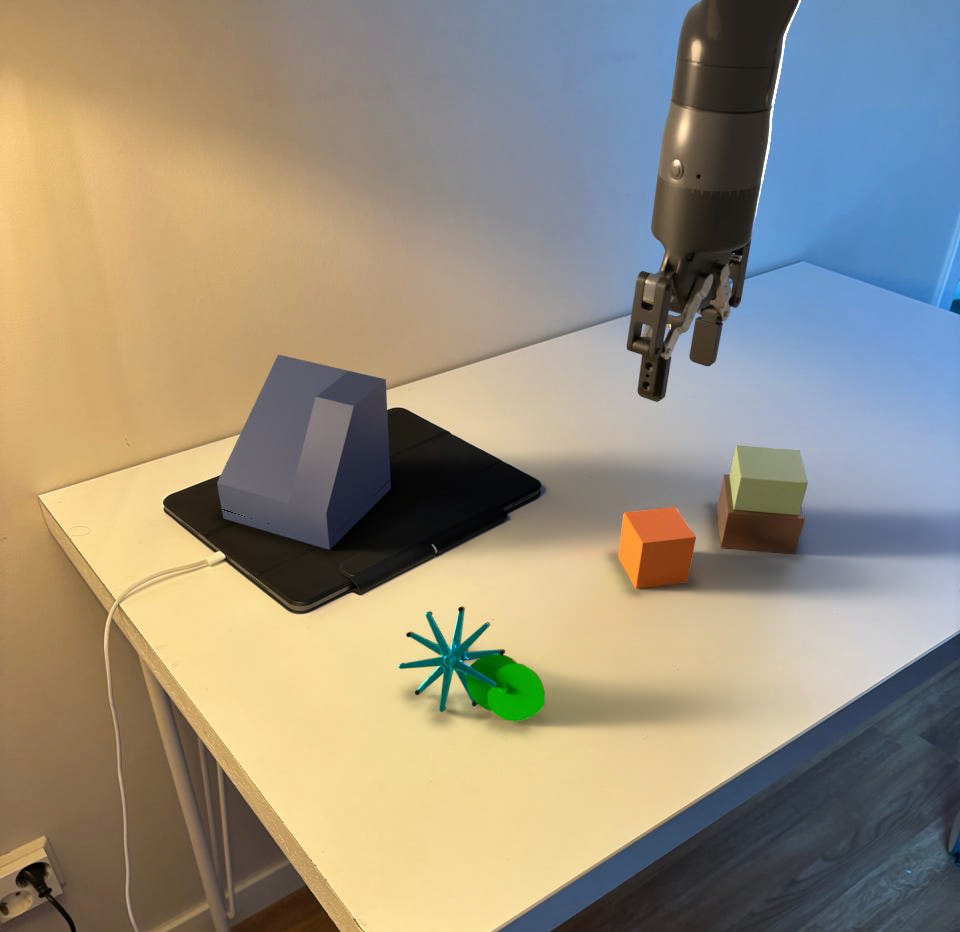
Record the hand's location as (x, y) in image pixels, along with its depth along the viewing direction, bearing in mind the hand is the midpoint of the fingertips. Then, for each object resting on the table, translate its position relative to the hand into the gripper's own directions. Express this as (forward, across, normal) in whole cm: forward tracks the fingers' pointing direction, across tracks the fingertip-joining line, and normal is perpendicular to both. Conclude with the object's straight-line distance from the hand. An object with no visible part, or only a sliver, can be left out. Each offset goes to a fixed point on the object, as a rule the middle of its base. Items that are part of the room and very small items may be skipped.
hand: (677, 379), depth 82 cm
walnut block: (+17, +10, -6) cm, 21 cm away
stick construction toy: (+18, -25, +1) cm, 31 cm away
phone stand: (+18, -15, +31) cm, 38 cm away
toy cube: (+17, -2, -2) cm, 18 cm away
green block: (+13, +10, -6) cm, 18 cm away
